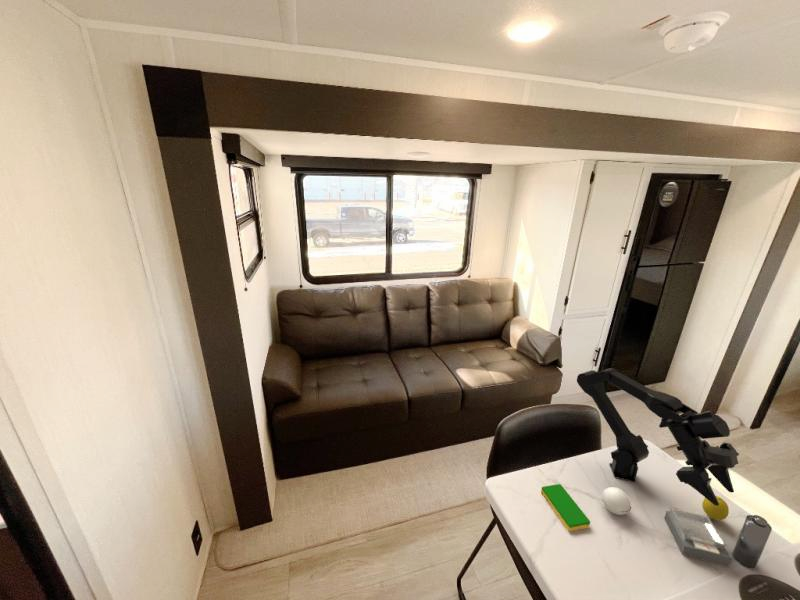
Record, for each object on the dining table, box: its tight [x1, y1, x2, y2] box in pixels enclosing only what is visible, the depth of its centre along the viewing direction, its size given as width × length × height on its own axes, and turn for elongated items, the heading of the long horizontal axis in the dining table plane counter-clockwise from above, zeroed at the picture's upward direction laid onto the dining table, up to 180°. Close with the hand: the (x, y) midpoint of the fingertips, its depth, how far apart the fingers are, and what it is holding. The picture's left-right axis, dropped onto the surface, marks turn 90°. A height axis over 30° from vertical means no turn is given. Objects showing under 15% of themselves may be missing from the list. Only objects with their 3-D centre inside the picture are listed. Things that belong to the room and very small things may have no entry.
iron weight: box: [731, 514, 773, 570], centre depth 83 cm, size 4×4×14 cm
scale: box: [663, 507, 733, 568], centre depth 89 cm, size 10×11×5 cm
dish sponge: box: [540, 483, 591, 532], centre depth 99 cm, size 7×14×2 cm, turn 10°
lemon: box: [701, 495, 730, 521], centre depth 95 cm, size 6×6×8 cm
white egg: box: [601, 486, 632, 516], centre depth 98 cm, size 10×7×7 cm
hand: (724, 498), depth 88 cm, fingers open, 9 cm apart
